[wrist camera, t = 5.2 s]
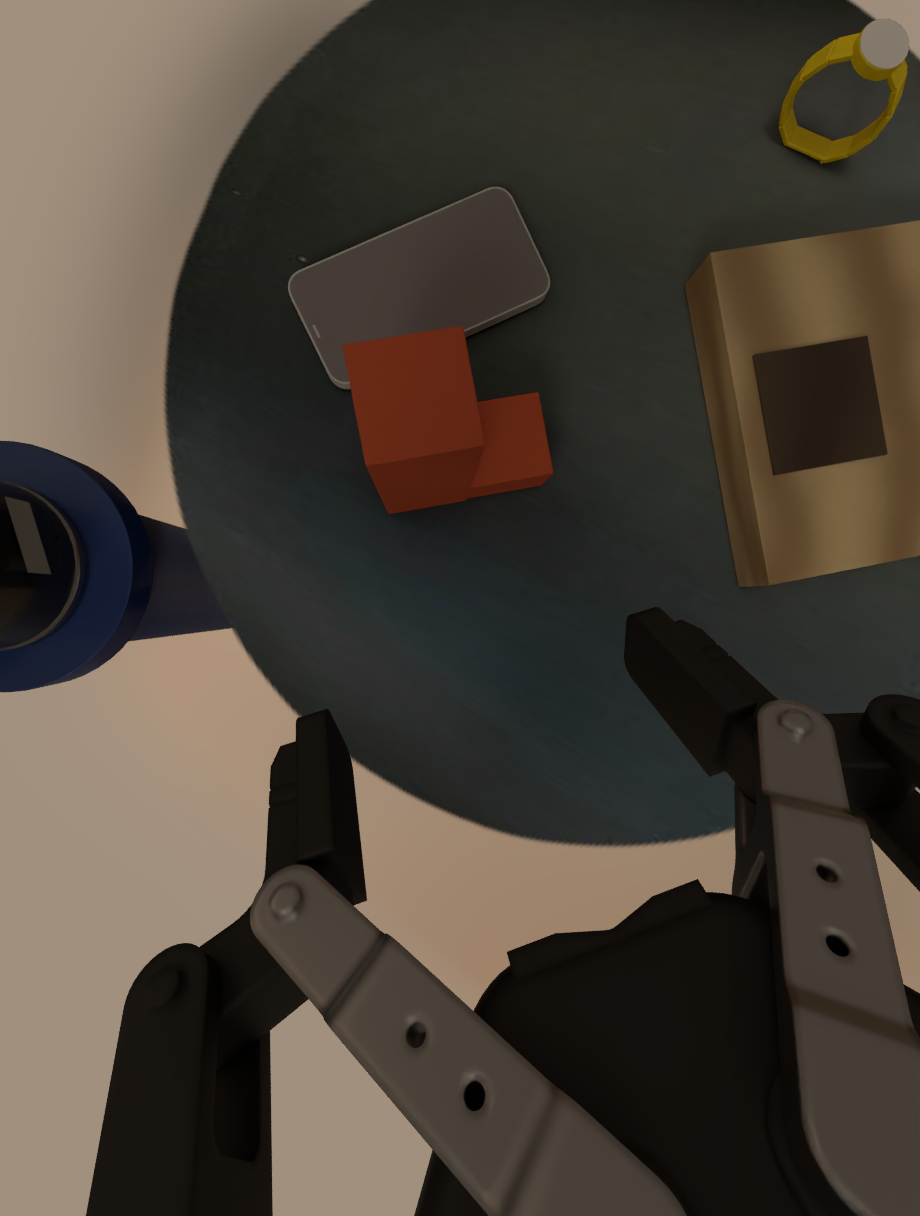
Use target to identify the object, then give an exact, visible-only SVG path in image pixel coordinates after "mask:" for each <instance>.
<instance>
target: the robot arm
mask: <svg viewBox="0 0 920 1216" xmlns="http://www.w3.org/2000/svg"><path fill="white" fill-rule="evenodd" d="M87 577H88V558H87V552H86V547H85V544H84V541H83V538H82V536H81V534H80V532H79V530H78V528H77V526H76V524H75V523H74V522H73V520H72V519H71V517H70V516H69V515H68V514H67V513H66V511H65V510H63V509H62V508H61V507H60V506H59V505H58V504H57V503H56V502H54V501H53V500H52V499H50V498H49V497H47V496H45V495H44V494H42V493H40V492H38V491H35V490H33V489H31V488H27V487H24V486H21V485H17V484H14V483H10V482H6V481H1V480H0V651H4V650H13V649H18V648H23V647H27V646H30V645H33V644H35V643H38V642H40V641H42V640H44V639H46V638H48V637H49V636H51V635H52V634H54V633H55V632H56V631H58V630H59V629H60V628H61V627H62V626H63V625H64V624H65V623H66V622H67V621H68V620H69V619H70V618H71V616H72V615H73V613H74V612H75V611H76V609H77V607H78V605H79V604H80V602H81V599H82V597H83V594H84V591H85V588H86V583H87ZM624 660H625V665H626V668H627V671H628V673H629V675H630V676H631V678H632V679H633V681H634V682H635V683H636V684H637V686H638V687H639V688H640V689H641V691H642V692H643V693H644V695H645V696H646V697H647V698H648V700H649V701H650V702H651V703H652V705H653V706H654V707H655V708H656V710H657V711H658V712H659V713H660V715H661V716H662V717H663V719H664V720H665V721H666V722H667V724H668V725H669V726H670V727H671V729H672V730H673V731H674V732H675V734H676V735H677V736H678V737H679V739H680V740H681V741H682V743H683V744H684V745H685V746H686V748H687V749H688V750H689V751H690V753H691V754H692V755H693V756H694V758H695V759H696V760H697V761H698V763H699V764H700V765H701V767H702V768H703V769H704V770H705V772H706V773H707V774H708V775H709V777H710V776H713V775H716V774H719V773H721V772H724V771H726V772H727V773H728V774H729V775H730V777H731V778H732V779H733V780H734V781H735V786H734V798H735V844H736V845H735V846H736V860H735V870H734V876H733V883H732V895H729V894H724V893H713V892H707V893H706V892H705V890H704V888H703V887H702V885H701V884H700V882H699V880H698V879H697V880H694V881H692V882H689V883H686V884H684V885H681V886H678V887H676V888H673V889H671V890H668V891H665V892H663V893H660V894H658V895H655V896H652V897H651V898H650V899H649V900H648V901H647V902H645V903H644V904H643V905H641V906H640V907H639V908H638V909H637V910H635V911H634V912H633V913H632V914H630V915H629V916H628V917H627V918H626V919H625V920H623V921H622V922H621V923H620V924H618V925H617V926H616V927H614V928H613V929H610V930H604V931H588V932H571V933H555V934H553V935H550V936H548V937H545V938H542V939H540V940H537V941H534V942H532V943H529V944H526V945H524V946H521V947H519V948H516V949H513V950H511V951H508V952H507V955H508V958H509V962H510V966H509V967H507V968H506V969H505V970H504V971H502V972H501V973H500V974H499V975H498V976H497V977H496V978H495V979H494V980H493V981H492V983H491V984H490V985H489V986H488V988H487V989H486V991H485V992H484V993H483V995H482V996H481V998H480V1000H479V1002H478V1004H477V1005H476V1007H475V1009H474V1011H473V1010H471V1009H470V1008H469V1007H468V1006H467V1005H466V1004H465V1003H464V1002H463V1001H461V999H459V998H458V997H457V996H456V995H455V994H454V993H453V992H452V991H451V990H450V989H448V988H447V987H446V986H445V985H444V984H443V983H442V982H441V981H440V980H439V979H438V978H437V977H435V976H434V975H433V974H432V973H431V972H430V971H429V970H428V969H427V968H426V967H425V966H424V965H422V964H421V963H420V962H419V961H418V960H417V959H416V958H415V957H414V956H413V955H411V954H410V953H409V952H408V951H407V950H406V949H405V948H404V947H403V946H402V945H400V943H398V942H397V941H396V940H395V939H393V938H392V937H391V936H390V935H388V934H384V933H383V932H381V931H380V930H379V929H378V928H376V926H375V925H373V924H372V923H371V922H370V921H369V920H368V919H367V918H366V917H365V916H364V915H363V914H362V913H360V912H359V911H358V910H357V909H356V908H355V907H354V905H356V904H359V903H361V902H364V901H367V897H366V887H365V878H364V869H363V859H362V850H361V841H360V832H359V822H358V813H357V804H356V794H355V785H354V775H353V767H352V762H351V758H350V754H349V751H348V748H347V746H346V744H345V742H344V740H343V738H342V736H341V733H340V731H339V729H338V727H337V725H336V723H335V721H334V719H333V717H332V715H331V713H330V711H329V710H328V709H325V710H322V711H319V712H316V713H312V714H309V715H306V716H303V717H299V718H297V720H296V741H295V742H292V743H289V744H286V745H283V746H280V748H279V751H278V753H277V755H276V757H275V759H274V761H273V763H272V765H271V774H270V789H271V791H270V792H269V793H270V794H269V805H270V808H269V812H268V831H267V850H266V868H265V869H266V870H265V877H264V881H263V884H262V886H261V888H260V890H259V891H258V893H257V894H256V896H255V899H254V901H253V903H252V905H251V906H250V907H249V908H248V910H247V911H246V912H245V913H244V914H243V915H242V916H241V917H240V918H239V919H238V920H237V921H235V922H234V923H233V924H231V925H230V926H229V927H227V928H226V929H224V930H223V931H221V932H220V933H219V934H217V935H216V936H214V937H213V938H212V939H210V940H209V941H207V942H206V943H204V944H203V945H202V946H200V947H198V946H196V945H193V944H189V943H182V944H177V945H174V946H171V947H169V948H167V949H165V950H164V951H162V952H161V953H159V954H158V955H157V956H156V957H154V958H153V959H152V960H151V961H150V962H149V963H148V964H147V965H146V966H145V967H144V968H143V970H142V971H141V972H140V973H139V975H138V976H137V978H136V979H135V981H134V983H133V985H132V987H131V988H130V990H129V993H128V995H127V998H126V1001H125V1005H124V1010H123V1015H122V1021H121V1027H120V1032H119V1038H118V1043H117V1048H116V1054H115V1059H114V1065H113V1071H112V1076H111V1081H110V1087H109V1092H108V1098H107V1103H106V1109H105V1115H104V1120H103V1125H102V1131H101V1136H100V1142H99V1148H98V1153H97V1159H96V1164H95V1169H94V1175H93V1180H92V1186H91V1191H90V1197H89V1202H88V1208H87V1214H86V1216H272V1151H271V1150H272V1148H271V1076H270V1075H271V1074H270V1030H271V1029H272V1028H273V1027H275V1026H276V1025H277V1024H278V1023H280V1022H281V1021H282V1020H283V1019H285V1018H286V1017H287V1016H288V1015H289V1014H291V1013H292V1012H293V1011H294V1010H296V1009H297V1008H298V1007H299V1006H300V1005H302V1004H303V1003H304V1002H305V1001H307V1000H308V999H309V1000H310V1001H311V1002H312V1003H313V1004H314V1006H315V1007H316V1008H317V1009H318V1010H319V1012H320V1013H321V1014H322V1016H323V1017H324V1020H325V1022H326V1023H327V1024H328V1026H329V1027H330V1028H331V1030H332V1031H333V1032H334V1033H335V1034H336V1036H337V1037H338V1038H339V1039H340V1040H341V1042H342V1043H343V1044H344V1045H345V1046H346V1048H347V1049H348V1050H349V1051H350V1052H351V1053H352V1055H353V1056H354V1057H355V1058H356V1059H357V1061H358V1062H359V1063H360V1064H361V1065H362V1066H363V1067H364V1069H365V1070H366V1071H367V1072H368V1073H369V1075H370V1076H371V1077H372V1078H373V1079H374V1081H375V1082H376V1083H377V1084H378V1085H379V1087H380V1088H381V1089H382V1090H383V1091H384V1092H385V1094H386V1095H387V1096H388V1097H389V1098H390V1099H391V1101H392V1102H393V1103H394V1104H395V1105H396V1107H397V1108H398V1109H399V1110H400V1111H401V1113H402V1114H403V1115H404V1116H405V1117H406V1118H407V1120H408V1121H409V1122H410V1123H411V1124H412V1126H413V1127H414V1128H415V1129H416V1130H417V1131H418V1133H419V1134H420V1135H421V1136H422V1137H423V1139H424V1140H425V1141H426V1142H427V1143H428V1145H429V1146H430V1147H431V1148H432V1149H433V1151H432V1154H431V1158H430V1161H429V1165H428V1168H427V1172H426V1176H425V1179H424V1183H423V1187H422V1190H421V1194H420V1197H419V1201H418V1205H417V1208H416V1212H415V1215H414V1216H920V993H918V992H916V991H914V990H913V989H911V988H909V987H907V986H906V985H904V984H903V980H902V976H901V971H900V967H899V963H898V958H897V954H896V949H895V945H894V940H893V936H892V931H891V927H890V922H889V918H888V914H887V909H886V904H885V900H884V895H883V891H882V886H881V882H880V877H879V873H878V869H877V864H876V860H875V855H874V851H873V846H872V842H871V839H872V840H873V841H874V842H875V843H876V844H877V845H878V846H879V847H880V849H881V850H882V851H883V852H884V853H885V854H886V855H887V856H888V857H889V859H890V860H891V861H892V862H893V863H894V864H895V865H896V866H897V867H898V868H899V869H900V871H901V872H902V873H903V874H904V875H905V876H906V877H907V878H908V879H909V881H910V882H911V883H912V884H913V885H914V886H915V887H916V888H917V889H918V890H919V891H920V793H919V792H917V791H916V790H915V788H916V787H917V788H919V789H920V700H918V699H915V698H912V697H908V696H903V695H895V694H889V695H882V696H878V697H876V698H874V699H873V700H872V701H871V702H870V703H869V705H868V707H867V709H866V710H865V712H864V713H840V714H822V713H820V712H819V711H817V710H816V709H814V708H812V707H811V706H808V705H806V704H803V703H800V702H797V701H792V700H778V699H777V698H776V697H775V696H773V695H772V694H771V693H770V692H769V691H768V690H767V689H766V688H765V687H764V686H763V685H761V684H760V683H759V682H758V681H757V680H756V679H755V678H754V677H753V676H752V675H751V674H750V673H748V672H747V671H746V670H745V669H744V668H743V667H742V666H741V665H740V664H739V663H738V662H737V661H735V660H734V659H733V658H732V657H731V656H730V657H729V656H728V653H727V652H726V651H725V650H724V649H722V648H721V647H720V646H719V645H718V646H717V645H716V642H715V641H714V640H713V639H712V638H711V637H709V636H708V635H707V634H706V633H705V632H704V631H703V630H702V629H700V628H698V627H696V626H694V625H692V624H690V623H688V622H686V621H683V620H679V621H676V622H674V621H673V620H672V619H671V618H670V617H669V616H668V615H667V614H666V613H665V612H664V611H663V610H662V609H660V608H658V607H654V608H651V609H647V610H644V611H641V612H638V613H634V614H631V615H629V616H628V617H627V621H626V636H625V650H624Z"/></svg>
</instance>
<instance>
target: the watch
mask: <svg viewBox="0 0 920 1216" xmlns="http://www.w3.org/2000/svg"><path fill="white" fill-rule="evenodd" d="M908 50H909V39H908V36H907V33H906V31H905V30H904V29H903V27H902V26H901V25H899V24H898V23H897V22H895V21H893V20H890V19H878V20H875V21H872V22H871V23H869V24H868V25H867V26H866V27H865V28H864V29H863V30H862V32H861V33H857V34H853V35H849V36H844V37H840V38H839V39H838V40H834V41H832V42H831V43H830V44H828V45H827V46H825V47H824V48H822V49H821V50H820V51H818V52H817V53H815V54H814V55H813V56H811V58H810V59H809V60H807V62H806V63H805V65H804V66H803V68H802V69H801V71H800V72H799V73H798V75H797V76H796V78H795V79H794V81H793V82H792V84H791V87H790V89H789V91H788V93H787V95H786V97H785V100H784V102H783V105H782V110H781V114H780V119H779V131H780V135H781V138H782V141H783V145H784V146H787V147H789V148H792V149H794V150H796V151H799V152H801V153H803V154H806V155H808V156H810V157H812V158H814V159H816V160H819V161H821V162H820V163H821V164H823V163H828V162H832V161H836V160H840V159H844V158H847V157H848V156H852V155H853V154H855V153H856V152H858V151H859V150H861V149H862V148H864V147H865V146H867V145H868V144H870V143H871V142H872V141H873V140H874V139H876V138H877V136H878V135H879V134H880V132H881V131H882V130H883V128H884V127H885V126H886V124H887V123H888V122H889V120H890V119H891V118H892V115H893V113H894V111H895V109H896V107H897V105H898V102H899V100H900V98H901V96H902V92H903V88H904V84H905V80H906V76H907V72H908V71H907V64H906V61H905V58H906V56H907V53H908ZM849 60H851V63H852V65H853V68H854V69H855V71H856V72H857V73H858V74H859V75H860V76H862V77H863V78H865V79H867V80H871V81H880V80H883V79H886V80H887V83H888V86H889V88H890V91H891V93H890V97H889V102H888V106H887V107H886V108H885V110H884V111H883V112H882V114H881V115H880V117H879V118H878V119H877V120H876V121H874V122H873V123H872V124H870V125H869V126H867V127H866V128H864V129H863V130H861V131H860V132H859V133H857V134H856V135H853V136H849V137H846V138H842V139H838V140H835V141H832V140H830V139H827V138H825V137H823V136H820V135H818V134H816V133H813V132H811V131H809V130H806V129H804V128H802V127H799V126H797V122H796V119H795V115H794V111H793V108H792V107H793V103H794V99H795V95H796V93H797V92H798V90H799V89H800V87H801V86H802V85H803V83H804V82H805V81H806V80H807V79H809V78H810V77H812V76H813V75H815V74H816V73H818V72H819V71H821V70H822V69H824V68H825V67H826V66H828V65H830V64H835V63H840V62H845V61H849Z"/></svg>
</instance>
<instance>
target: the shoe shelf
mask: <svg viewBox="0 0 920 1216" xmlns="http://www.w3.org/2000/svg"><path fill="white" fill-rule="evenodd" d="M685 290H686V296H687V301H688V307H689V313H690V318H691V324H692V329H693V335H694V341H695V346H696V352H697V357H698V363H699V369H700V374H701V380H702V385H703V391H704V397H705V402H706V408H707V413H708V419H709V425H710V430H711V436H712V441H713V447H714V453H715V458H716V464H717V469H718V475H719V481H720V486H721V492H722V497H723V503H724V509H725V514H726V520H727V525H728V531H729V537H730V542H731V548H732V553H733V559H734V565H735V570H736V576H737V581H738V586H739V587H747V586H766V585H774V584H779V583H784V582H789V581H794V580H799V579H804V578H809V577H814V576H820V575H825V574H830V573H835V572H840V571H845V570H850V569H855V568H860V567H865V566H870V565H875V564H880V563H886V562H891V561H896V560H901V559H906V558H911V557H916V556H920V220H919V221H912V222H906V223H899V224H893V225H886V226H880V227H873V228H867V229H860V230H854V231H847V232H841V233H834V234H828V235H821V236H815V237H808V238H802V239H795V240H789V241H782V242H776V243H769V244H763V245H756V246H750V247H743V248H737V249H730V250H724V251H717V252H711V253H710V254H709V255H708V256H707V258H706V259H705V260H704V261H703V263H702V264H701V265H700V266H699V268H698V269H697V270H696V271H695V273H694V274H693V275H692V276H691V278H690V279H689V280H688V281H687V283H686V284H685Z"/></svg>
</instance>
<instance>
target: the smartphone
mask: <svg viewBox="0 0 920 1216" xmlns="http://www.w3.org/2000/svg"><path fill="white" fill-rule="evenodd" d="M549 286H550V277H549V274H548V272H547V269H546V267H545V265H544V263H543V261H542V259H541V257H540V255H539V252H538V250H537V248H536V246H535V244H534V242H533V240H532V238H531V235H530V233H529V231H528V229H527V227H526V225H525V223H524V221H523V218H522V216H521V214H520V212H519V210H518V208H517V206H516V204H515V201H514V199H513V198H512V196H511V194H510V193H509V192H508V191H506V190H505V189H503V188H501V187H491V188H487V189H485V190H483V191H480V192H478V193H476V194H474V195H471V196H469V197H467V198H464V199H462V200H460V201H457V202H455V203H453V204H451V205H448V206H446V207H444V208H441V209H439V210H437V211H434V212H432V213H430V214H428V215H425V216H423V217H421V218H418V219H416V220H414V221H411V222H409V223H407V224H405V225H402V226H400V227H398V228H395V229H393V230H391V231H388V232H386V233H384V234H382V235H379V236H377V237H375V238H372V239H370V240H368V241H365V242H363V243H361V244H359V245H356V246H354V247H352V248H349V249H347V250H345V251H342V252H340V253H338V254H336V255H333V256H331V257H329V258H326V259H324V260H322V261H319V262H317V263H315V264H313V265H310V266H308V267H306V268H303V269H301V270H299V271H297V272H296V273H294V274H293V275H292V276H291V278H290V280H289V283H288V291H289V294H290V297H291V299H292V301H293V304H294V306H295V308H296V310H297V312H298V314H299V316H300V318H301V320H302V322H303V324H304V326H305V328H306V330H307V332H308V334H309V336H310V338H311V340H312V343H313V345H314V347H315V349H316V351H317V353H318V355H319V357H320V359H321V361H322V363H323V365H324V367H325V369H326V371H327V373H328V375H329V377H330V379H331V380H332V382H333V383H334V384H335V385H336V386H338V387H340V388H343V389H351V387H350V382H349V377H348V372H347V367H346V361H345V356H344V351H343V345H344V344H350V343H356V342H363V341H369V340H375V339H382V338H388V337H394V336H400V335H407V334H413V333H419V332H426V331H432V330H438V329H445V328H451V327H457V326H463V328H464V333H465V338H466V337H468V336H470V335H472V334H474V333H477V332H479V331H481V330H483V329H485V328H488V327H490V326H492V325H494V324H496V323H499V322H501V321H503V320H505V319H507V318H510V317H512V316H514V315H516V314H518V313H521V312H523V311H525V310H527V309H529V308H532V307H534V306H536V305H538V304H539V303H541V302H542V301H543V300H544V298H545V297H546V294H547V292H548V289H549Z"/></svg>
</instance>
